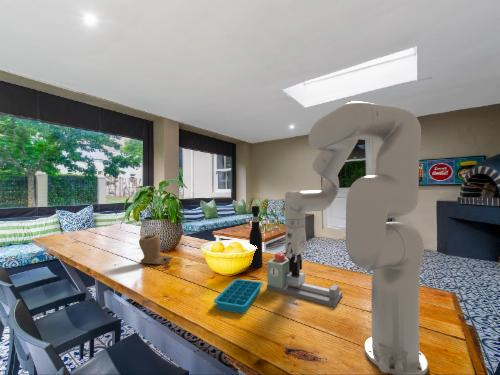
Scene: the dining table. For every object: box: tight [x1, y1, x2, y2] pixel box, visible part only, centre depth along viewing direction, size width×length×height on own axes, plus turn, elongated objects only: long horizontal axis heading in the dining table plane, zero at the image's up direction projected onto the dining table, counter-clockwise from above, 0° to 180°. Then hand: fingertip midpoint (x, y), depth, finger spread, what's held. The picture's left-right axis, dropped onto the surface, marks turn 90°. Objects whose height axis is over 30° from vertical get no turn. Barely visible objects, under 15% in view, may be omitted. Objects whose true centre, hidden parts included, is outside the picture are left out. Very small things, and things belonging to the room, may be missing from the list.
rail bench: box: [266, 256, 343, 308], centre depth 91 cm, size 10×26×10 cm, turn 56°
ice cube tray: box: [213, 278, 263, 314], centre depth 87 cm, size 12×20×3 cm, turn 161°
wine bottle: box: [248, 205, 263, 269], centre depth 121 cm, size 6×6×30 cm
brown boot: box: [138, 233, 173, 265], centre depth 128 cm, size 15×12×15 cm
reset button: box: [274, 253, 286, 263], centre depth 97 cm, size 4×4×6 cm
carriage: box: [286, 255, 306, 288], centre depth 93 cm, size 6×5×11 cm
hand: (295, 270), depth 93 cm, fingers open, 3 cm apart
